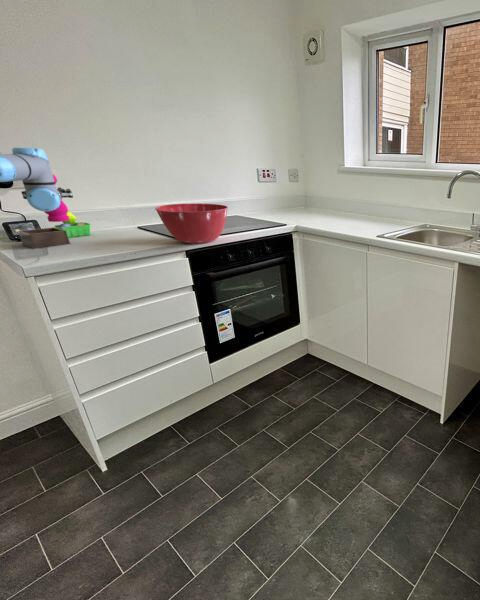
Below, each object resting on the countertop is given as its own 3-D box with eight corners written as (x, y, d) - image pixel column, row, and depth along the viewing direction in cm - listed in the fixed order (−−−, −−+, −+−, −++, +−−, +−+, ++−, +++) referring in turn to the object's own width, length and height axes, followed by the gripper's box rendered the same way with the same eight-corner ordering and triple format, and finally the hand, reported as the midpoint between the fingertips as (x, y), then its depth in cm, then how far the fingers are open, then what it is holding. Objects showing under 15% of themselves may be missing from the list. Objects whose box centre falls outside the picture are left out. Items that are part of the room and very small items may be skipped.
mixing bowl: (245, 239, 168) (241, 206, 162) (188, 250, 144) (181, 212, 139) (207, 232, 180) (202, 201, 174) (148, 242, 156) (140, 206, 150)
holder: (33, 248, 140) (28, 234, 138) (22, 244, 145) (17, 231, 143) (70, 243, 149) (65, 230, 147) (58, 240, 155) (54, 227, 153)
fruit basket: (63, 238, 157) (55, 213, 153) (56, 236, 162) (47, 211, 158) (94, 234, 167) (87, 210, 162) (86, 232, 171) (79, 209, 167)
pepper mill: (71, 221, 140) (55, 167, 132) (46, 222, 135) (28, 167, 128) (71, 218, 145) (55, 167, 137) (47, 220, 140) (29, 166, 133)
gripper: (14, 208, 119) (22, 201, 136) (83, 206, 130) (83, 199, 146) (5, 185, 116) (15, 181, 133) (77, 184, 127) (78, 181, 144)
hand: (51, 191), depth 140 cm, fingers closed on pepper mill, 5 cm apart
